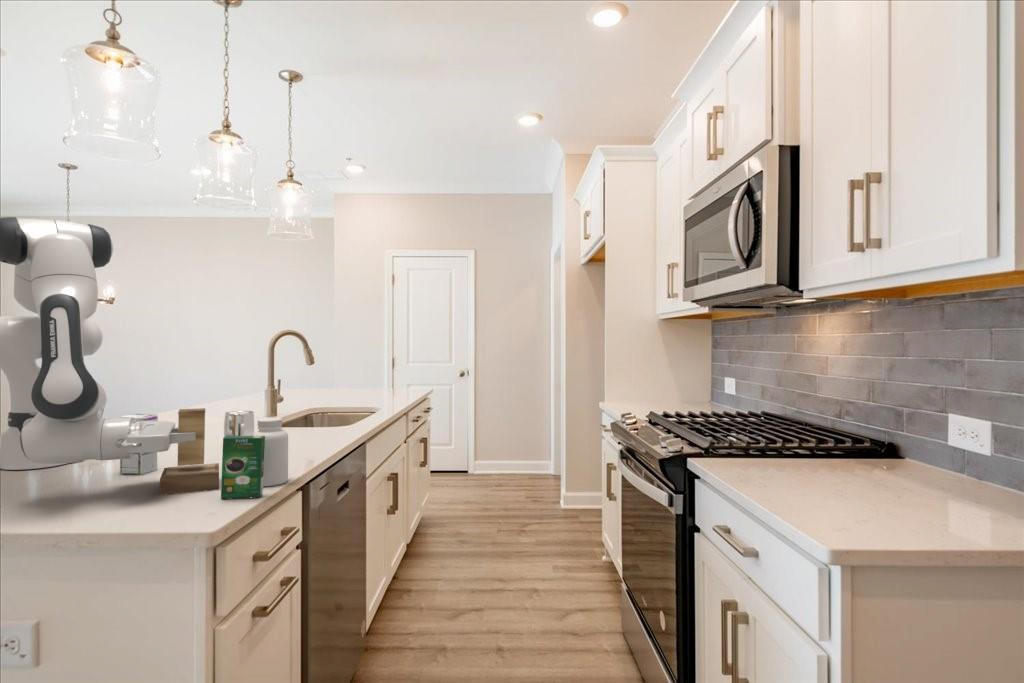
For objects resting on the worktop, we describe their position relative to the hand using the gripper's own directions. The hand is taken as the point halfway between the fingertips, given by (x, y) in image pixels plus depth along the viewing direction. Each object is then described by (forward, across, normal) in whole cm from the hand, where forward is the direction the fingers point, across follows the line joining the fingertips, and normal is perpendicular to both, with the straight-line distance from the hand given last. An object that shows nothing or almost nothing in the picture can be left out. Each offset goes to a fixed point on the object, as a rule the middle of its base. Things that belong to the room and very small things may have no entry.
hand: (196, 433), depth 120 cm
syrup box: (-13, +21, +12) cm, 28 cm away
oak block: (-1, 0, +6) cm, 7 cm away
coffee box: (+9, -14, +12) cm, 21 cm away
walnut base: (-1, 0, +12) cm, 12 cm away
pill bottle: (+15, -4, +12) cm, 20 cm away
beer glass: (+9, +12, +12) cm, 19 cm away
